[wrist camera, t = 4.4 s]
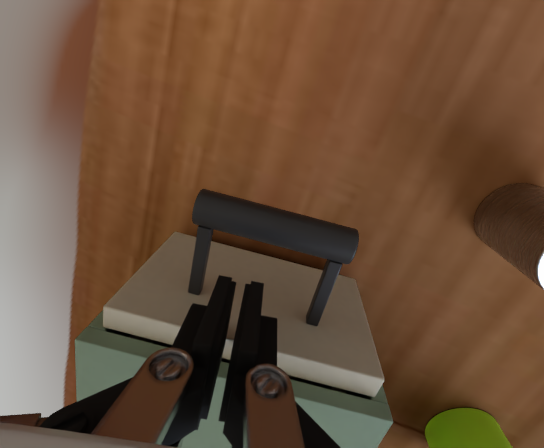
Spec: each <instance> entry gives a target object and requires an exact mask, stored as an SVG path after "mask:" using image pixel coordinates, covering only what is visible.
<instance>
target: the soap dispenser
mask: <svg viewBox="0 0 544 448" xmlns="http://www.w3.org/2000/svg"><path fill="white" fill-rule="evenodd" d="M425 437H426V440H427V442H428V445H429V448H512V446H511V445H510V443H509V441H508V440H507V438H506V436H505V435H504V433H503V431H502V430H501V428H500V426H499V425H498V423H497V421H496V420H495V419H494V418H493V417H492V416H491V415H490V414H488V413H486V412H484V411H481V410H478V409H473V408H456V409H451V410H447V411H444V412H442V413H440V414H438V415H436V416H435V417H433V418H432V419H431V420H430V421H429V422H428V424H427V426H426V428H425Z"/></svg>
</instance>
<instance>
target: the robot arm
mask: <svg viewBox="0 0 544 448" xmlns="http://www.w3.org/2000/svg"><path fill="white" fill-rule="evenodd" d="M235 288H236V282H234V281H232V277H227V276H221V275H219V276H218V279H217V282H216V284H215V287H214V289H213V292H212V295H211V297H210V300H209V302H208V305H207V306H206V305H200V304H195V303H193V304H192V305H191V307H190V309H189V311H188V313H187V315H186V317H185V319H184V321H183V324H182V326H181V328H180V330H179V332H178V334H177V336H176V338H175V340H174V343H173V345H172V347H171V348H164V349H161V350H158V351H156V352H154V353H153V354H151V355H150V356H149V357H148V358H147V359H146V360H145V362H144V363H143V365H142V366H141V367H140V369H139V370H138V371H137V373H136V374H135V375H134V377H132V378H130V379H127V380H125V381H123V382H121V383H118V384H116V385H114V386H111V387H109V388H107V389H105V390H102V391H100V392H98V393H96V394H93V395H91V396H89V397H87V398H84V399H82V400H80V401H78V402H75V403H73V404H71V405H68V406H66V407H64V408H62V409H60V410H58V411H57V412H55V413H53V414H52V415H50V416H49V417H44V418H41V413H36V414H22V415H8V416H0V448H181V446H182V443H183V439H184V437H185V436H187V435H188V434H190V433H191V432H193V431H194V430H198V428H199V424H200V420H201V419H205V420H207V417H208V413H209V409H210V405H211V401H212V397H213V392H214V388H215V384H216V380H217V376H218V371H219V367H220V363H221V359H222V355H223V351H224V346H225V342H226V337H227V332H228V327H229V321H230V315H231V310H232V304H233V299H234V293H235ZM263 289H264V283H260V282H255V281H251V284H245V288H244V293H243V298H242V303H241V308H240V313H239V318H238V322H237V327H236V332H235V337H234V342H233V347H232V352H231V357H230V362H229V367H228V373H227V378H226V383H225V388H224V394H223V399H222V404H221V409H220V415H219V420H218V421H221V422H225V423H224V428H223V434H224V435H225V437H226V438H227V439H228V441H229V442H230V444H231V448H341V447H340V446H339V445H338V444H337V443H336V442H335V441H334V440H333V439H332V438H331V437H330V436H329V435H328V434H327V433H326V432H325V431H324V430H323V429H322V428H321V427H320V426H319V425H318V424H317V423H316V422H315V421H314V420H313V419H312V418H311V417H310V416H309V415H308V414H307V413H306V412H305V411H304V409H303V408H302V407H301V406H300V405H299V404H298V403H297V402H296V401H295V397H294V392H293V388H292V383H291V380H290V378H289V376H288V375H287V374H286V372H285V371H283V370H282V369H281V368H279V367H277V318H274V317H268V316H263V315H261V310H262V300H263Z"/></svg>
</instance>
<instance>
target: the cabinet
mask: <svg viewBox="0 0 544 448" xmlns="http://www.w3.org/2000/svg"><path fill="white" fill-rule="evenodd" d="M130 335H131V334H128V333H124V332H120V331H116V330H112V329H109V328H105V327H103V311H102V312H101V313H100V314H99V315H98V316H97V317H96V318H95V319H94V320H93V321H92V322H91V323H90V324H89V326H88V327H86V328H85V329H84V330H83V331H82V333H81V334H80V335H79V336H78V337H77V338H76V339H75V361H76V394H77V402H78V401H80V400H82V399H84V398H87V397H89V396H91V395H93V394H96V393H98V392H100V391H102V390H105V389H107V388H109V387H111V386H114V385H116V384H118V383H121V382H123V381H125V380H127V379H130V378H132V377H134V375H135V374H136V373H137V371H138V370H139V369H140V367H141V366H142V365H143V363H144V362H145V360H146V359H147V358H148V357H149V356H150V355H151V354H153V353H154V352H156V351H158V350H161V349H164V348H168V347H164V346H160V345H156V344H153V343H149V342H145V341H141V340H137V339H133V338H129V336H130ZM228 367H229V363H226V362H222V361H221V363H220V367H219V371H218V376H217V380H216V384H215V388H214V392H213V397H212V401H211V405H210V409H209V413H208V417H207V420H205V419H201V420H200V424H199V428H198V430H194V431H193V432H191V433H190V434H188V435H187V436H185V437H184V439H183V443H182V446H181V448H231V444H230V442H229V441H228V439H227V438H226V437H225V435H224V434H223V428H224V423H225V422H221V421H218V420H219V415H220V409H221V404H222V399H223V394H224V388H225V383H226V378H227V373H228ZM290 380H291V379H290ZM291 383H292V388H293V392H294V397H295V401H296V402H297V403H298V404H299V405H300V406H301V407H302V408H303V409H304V411H305V412H306V413H307V414H308V415H309V416H310V417H311V418H312V419H313V420H314V421H315V422H316V423H317V424H318V425H319V426H320V427H321V428H322V429H323V430H324V431H325V432H326V433H327V434H328V435H329V436H330V437H331V438H332V439H333V440H334V441H335V442H336V443H337V444H338V445H339V446H340V447H341V448H377V447H378V445H379V444H380V442H381V440H382V439H383V437H384V436H385V434H386V433H387V431H388V430H389V428H390V426H391V425H392V423H393V419H392V416H391V412H390V408H389V405H388V404H387V399H386V395H385V392H384V388H383V385H382V386H381V387H380V389H379V391H378V393H377V394H376V396H375V397H371V396H367V395H363V394H359V393H355V392H351V391H348V390H346V394H345V393H342V392H338V391H334V390H330V389H326V388H322V387H318V386H315V385H311V384H307V383H303V382H299V381H295V380H291Z"/></svg>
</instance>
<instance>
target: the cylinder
mask: <svg viewBox="0 0 544 448" xmlns="http://www.w3.org/2000/svg"><path fill="white" fill-rule="evenodd" d="M474 229H475V232H476V234H477V236H478V237H479V238H480V239H481V240H482V241H483V242H484V243H485V244H487V245H488V246H489V247H490V248H492V249H493V250H494V251H495V252H497V253H498V254H499V255H500V256H502V257H503V258H504V259H505V260H507V261H508V262H509V263H511V264H512V265H513V266H514V267H516V268H517V269H518V270H519V271H521V272H522V273H523V274H524V275H526V276H527V277H528V278H529V279H531V280H532V281H533V282H534V283H536V284H537V285H538V286H540V287H541V288H542V289H543V290H544V189H543V188H540V187H537V186H535V185H532V184H527V183H516V184H511V185H507V186H504V187H502V188H499V189H497V190H496V191H494V192H493V193H491V194H490V195H489V196H487V197H486V198H485V199H484V200H483V202H482V203H481V204H480V206H479V207H478V209H477V211H476V214H475V217H474Z"/></svg>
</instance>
